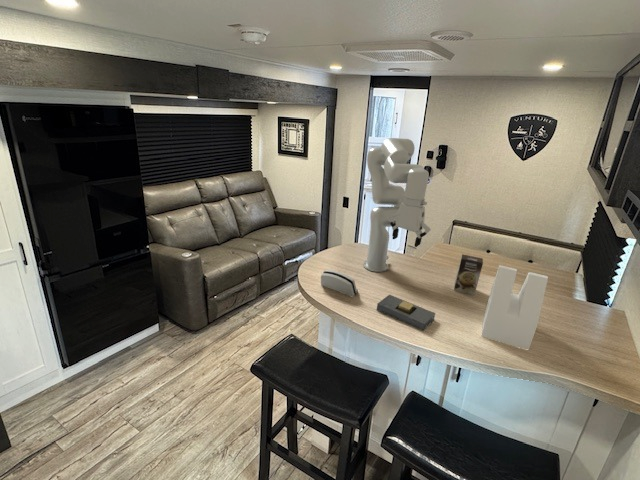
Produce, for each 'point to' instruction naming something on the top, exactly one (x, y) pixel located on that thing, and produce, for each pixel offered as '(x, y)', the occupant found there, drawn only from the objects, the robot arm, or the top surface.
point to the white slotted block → (514, 308)
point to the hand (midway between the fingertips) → (405, 242)
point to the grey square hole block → (417, 318)
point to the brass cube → (406, 307)
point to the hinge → (338, 282)
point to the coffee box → (468, 274)
